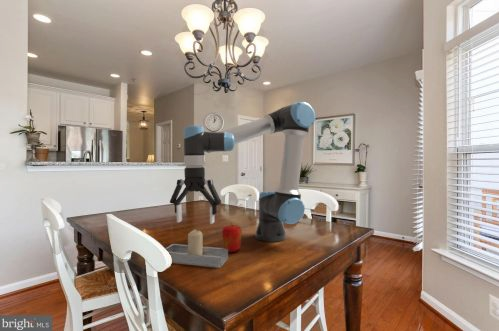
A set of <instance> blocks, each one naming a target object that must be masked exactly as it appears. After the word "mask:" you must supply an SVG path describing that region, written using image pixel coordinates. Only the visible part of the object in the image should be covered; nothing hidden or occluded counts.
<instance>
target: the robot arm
mask: <svg viewBox="0 0 499 331" xmlns="http://www.w3.org/2000/svg"><path fill="white" fill-rule="evenodd" d="M315 122H316V112H315V110H314V108H313V107H312V105H310V103H308V102H305V101H298V102H294V103H292V104H290V105H287V106H282V107H281V108H278V109H277V110H274V111H273V112H271V113H268V114H265V115H264V116H263V117H262V118H259V119H256V120H255V119H254V120H252V121H250V122H246V123H243V124H239V125H236V126H233V127H229V128H227V129H224V130H221V131H218V132H216V131H215V132H212V131H205V128H204V126H202V125H187V126H185V127H184V128H183V150H184V151H183V154H184V155H183V156H184V158H183V160H184V162H183V164H184V172H183V173H184V179H181V178H180V179H177V180H176V186H175V188H174V191H173V194H172V195H171V198H170V200H169V204H173V206H174V214H176V223H180V222H183V212H182V211H183V210H182V209H183V208H182V207H183V205H182V204H181V203H182V201H183V200H184V198H186V197H187V195H188V194H189V192H196V193H197V192H199V193H201V194H202V195H203V197H204V198H205V199H206V200H207V202H208V203H209V204H210V206H209V224H210V225H213V224H214V223H215V222H216V221H215V215H217V211H218V210H217V207H218V206H219V205H220V204H222V200H221V198H220V195H219V194H218V191H217V189H216V187H215V186H214V181H213V179H212V178H211V179H208V180H207V179H205V176H206V175H205V167H204V166H205V153H208V154H210V153H216V152H217V153H218V152H231V151H233V150H234V148H235V145H237V144H239V143H240V144H241V143H242V142H243V143H244V142H245V141H249V140H251V139H254V138H257V137H261V136H263V135H266V134H269V135H272V134H275V133H279V132H282V133H283V135H285V136H284V144H283V151H282V152H283V153H282V160H281V168H280V169H281V170H280V177H279V184H278V186H279V187H278V188H277V189H276V190H275V191H273V190H272V191H261V192H259V195H258V223H257V227H256V230H255V233H254V234H255V236H254V237H255V239H257V240H259V241H263V242H268V243H270V242H273V243H274V242H275V243H277V242H281V241H284V240H286V238H287V232H286V230H285V227H284V224H288V225H295V224H296V223H298V222H299V221H300V220H302V218H303V216H304V215H305V212H306V211H305V204H304V202H303V201H302V200H301V198H302V193H301V192H300V190H299V187H300V186H299V185H300V178H301V177H300V176H301V169H302V160H303V154H304V153H303V151H304V143H305V137H307V136H308V135H309V130H310V128H311V127H312V126H313V125H314V123H315ZM184 185H185V187H184V189H183V190H182V188H183V186H184ZM205 185H206V186H207V187H208V190H207V188H206V187H205ZM181 190H182V192H181ZM208 191H209V192H208ZM180 192H181V193H180ZM210 193H211V194H210Z"/></svg>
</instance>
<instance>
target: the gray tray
mask: <svg viewBox="0 0 499 331" xmlns="http://www.w3.org/2000/svg"><path fill="white" fill-rule="evenodd" d="M164 249H166V250H167V251H168V252H169V254H170V255H171V257H172V263H171V264H178V265H179V264H180V265H187V266H197V267H206V268H216V269H220V268H222V266H224V264H225V262H227V260H228V259H229V252H228V249H225V248H224V247H212V246H203V253H202V255H198V254H188V244H181V243H180V244H178V243H171V244H170V245H169V246H167V247H165V248H164Z"/></svg>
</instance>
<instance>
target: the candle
mask: <svg viewBox="0 0 499 331" xmlns="http://www.w3.org/2000/svg"><path fill="white" fill-rule="evenodd" d="M203 234H204V233H203V232H201V231H200V229H199V230H198V229H197V228H196V229H193V230H191V231H190V232H189V233H188V234H187V245H188V254H198V255H202V253H203V247H204V246H203V237H204V236H203Z"/></svg>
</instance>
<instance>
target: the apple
mask: <svg viewBox="0 0 499 331" xmlns="http://www.w3.org/2000/svg"><path fill="white" fill-rule="evenodd" d="M221 232H222V239H223V240H222V241H223V248H225V249H228V253H235V252H237V251H238V250H240V248H241V247H242V246H241V244H242V234H243V229H242V228H241V226H239V225H237V224H235V225H234V224H233V223H231V224H230V225H226V226H224V227H223V228H222V231H221Z"/></svg>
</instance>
